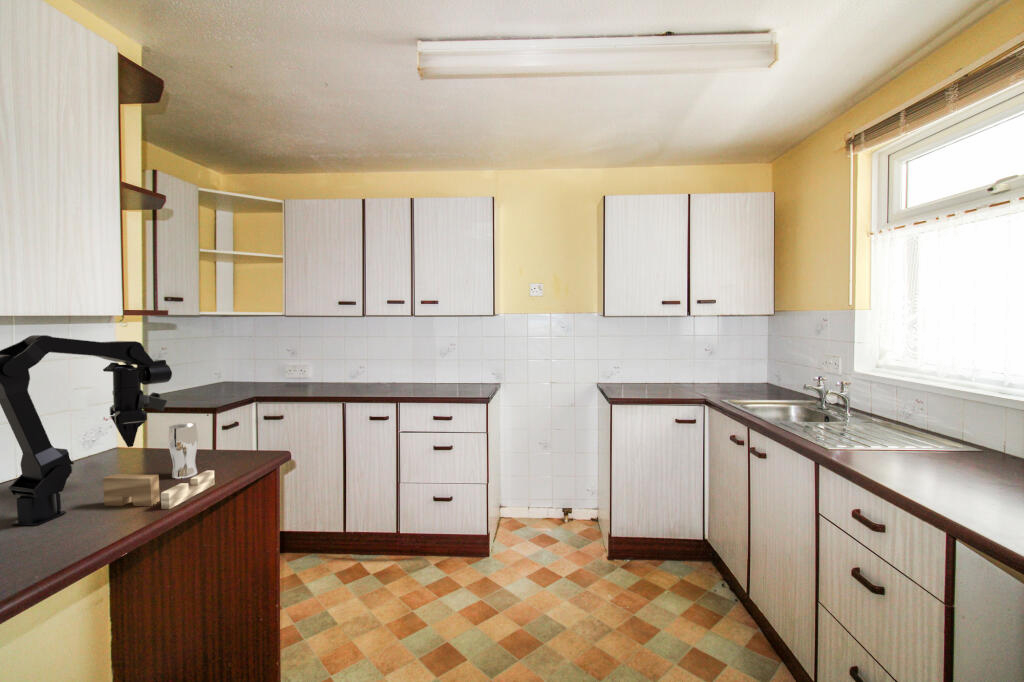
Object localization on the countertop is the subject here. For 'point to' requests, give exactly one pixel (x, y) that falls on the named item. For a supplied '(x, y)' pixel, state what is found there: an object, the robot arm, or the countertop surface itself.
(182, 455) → the beer glass
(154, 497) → the tan block
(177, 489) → the birch rail
